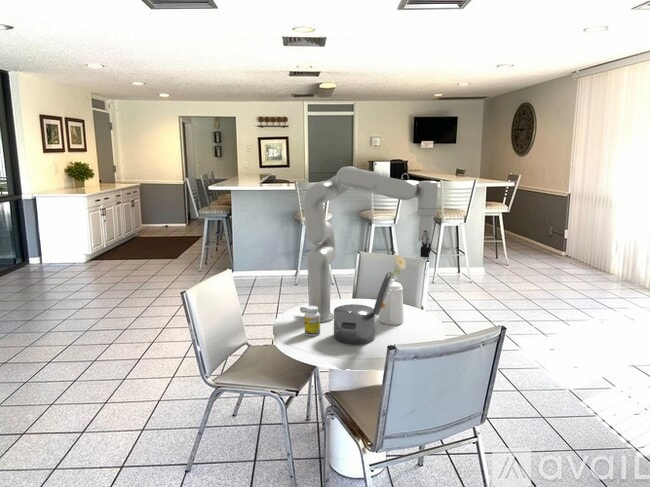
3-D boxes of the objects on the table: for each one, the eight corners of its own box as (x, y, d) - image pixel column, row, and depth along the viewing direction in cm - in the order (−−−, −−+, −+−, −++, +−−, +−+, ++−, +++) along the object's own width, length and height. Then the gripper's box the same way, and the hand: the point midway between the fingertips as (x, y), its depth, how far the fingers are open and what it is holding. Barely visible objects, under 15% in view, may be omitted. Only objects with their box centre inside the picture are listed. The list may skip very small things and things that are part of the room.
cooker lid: (383, 278, 170) (391, 281, 170) (390, 268, 186) (397, 270, 185) (370, 319, 174) (377, 322, 174) (378, 306, 190) (385, 308, 189)
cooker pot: (326, 345, 179) (326, 317, 177) (341, 326, 199) (341, 301, 197) (368, 349, 174) (369, 321, 172) (379, 330, 194) (379, 304, 192)
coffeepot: (375, 331, 193) (376, 286, 190) (380, 312, 217) (381, 272, 214) (402, 333, 191) (403, 288, 188) (404, 313, 215) (405, 273, 212)
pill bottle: (304, 331, 193) (304, 305, 191) (319, 330, 194) (319, 304, 192) (304, 336, 187) (304, 310, 185) (320, 336, 188) (320, 309, 186)
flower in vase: (388, 311, 218) (389, 258, 214) (374, 304, 228) (375, 253, 224) (410, 306, 225) (412, 255, 220) (396, 300, 234) (397, 251, 230)
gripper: (419, 209, 197) (417, 250, 200) (415, 214, 180) (414, 258, 183) (437, 210, 195) (435, 251, 198) (435, 215, 178) (433, 259, 181)
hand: (425, 254), depth 191 cm, fingers open, 9 cm apart
